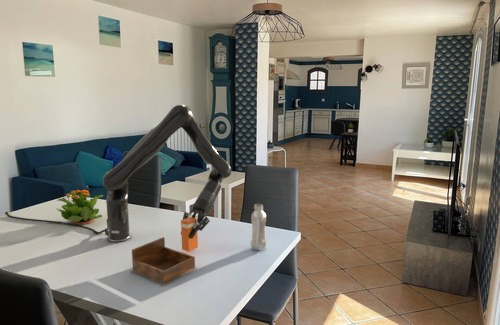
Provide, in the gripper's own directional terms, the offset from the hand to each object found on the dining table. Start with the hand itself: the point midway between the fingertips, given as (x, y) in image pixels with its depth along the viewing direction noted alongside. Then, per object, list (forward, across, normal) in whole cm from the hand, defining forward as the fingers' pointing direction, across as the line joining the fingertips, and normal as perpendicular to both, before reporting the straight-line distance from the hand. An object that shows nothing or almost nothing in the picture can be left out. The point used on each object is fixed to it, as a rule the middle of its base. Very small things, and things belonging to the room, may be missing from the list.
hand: (186, 236), depth 158 cm
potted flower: (+8, -73, +3) cm, 74 cm away
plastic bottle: (-10, +22, +21) cm, 32 cm away
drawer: (+17, +4, -6) cm, 18 cm away
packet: (+3, 0, +6) cm, 6 cm away
